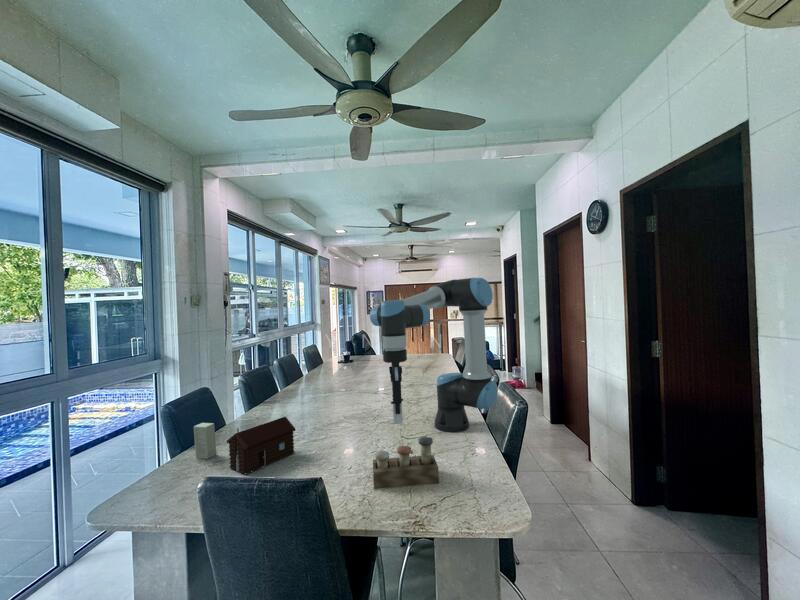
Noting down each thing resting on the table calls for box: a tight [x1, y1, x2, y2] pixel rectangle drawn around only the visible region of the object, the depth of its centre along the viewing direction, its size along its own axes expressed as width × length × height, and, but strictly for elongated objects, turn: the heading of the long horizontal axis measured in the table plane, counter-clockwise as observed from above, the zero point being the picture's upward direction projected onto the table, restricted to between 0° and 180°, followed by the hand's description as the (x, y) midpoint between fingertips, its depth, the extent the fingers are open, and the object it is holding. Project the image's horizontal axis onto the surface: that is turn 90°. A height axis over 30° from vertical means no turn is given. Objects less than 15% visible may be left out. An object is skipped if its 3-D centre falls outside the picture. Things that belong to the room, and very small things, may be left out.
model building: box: [226, 416, 296, 474], centre depth 133 cm, size 21×12×15 cm, turn 145°
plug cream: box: [374, 450, 390, 468], centre depth 115 cm, size 4×4×8 cm
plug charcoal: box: [418, 436, 433, 465], centre depth 116 cm, size 4×4×8 cm
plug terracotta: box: [396, 445, 412, 467], centre depth 115 cm, size 4×4×8 cm
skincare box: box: [193, 422, 217, 460], centre depth 139 cm, size 6×4×12 cm
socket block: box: [372, 454, 440, 490], centre depth 115 cm, size 20×9×5 cm, turn 95°
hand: (398, 422), depth 115 cm, fingers closed
